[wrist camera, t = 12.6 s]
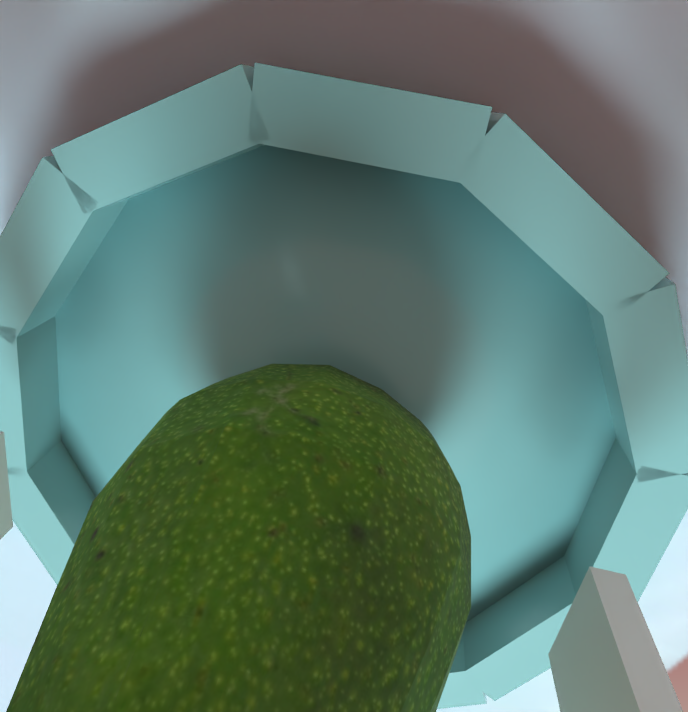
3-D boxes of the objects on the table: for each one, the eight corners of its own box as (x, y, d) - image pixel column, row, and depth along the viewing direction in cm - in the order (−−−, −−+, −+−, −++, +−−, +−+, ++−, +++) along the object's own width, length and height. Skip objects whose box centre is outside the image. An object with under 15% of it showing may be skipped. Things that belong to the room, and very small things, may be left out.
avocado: (207, 274, 15) (-341, 717, 4) (494, 354, 15) (704, 1010, 4) (171, 507, 18) (-188, 1096, 7) (406, 572, 18) (394, 1259, 7)
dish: (4, 17, 14) (-78, 0, 12) (789, 164, 13) (865, 176, 11) (43, 580, 22) (-1, 634, 20) (534, 699, 21) (547, 771, 19)
